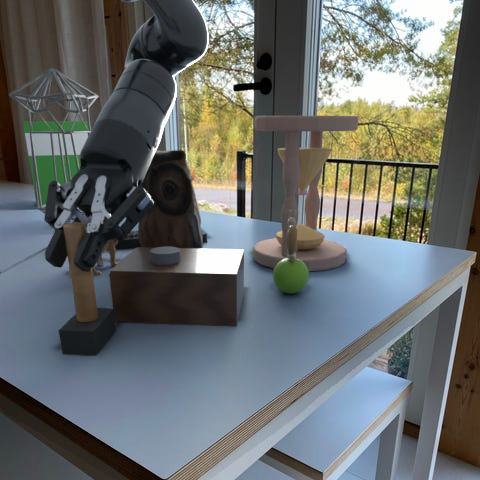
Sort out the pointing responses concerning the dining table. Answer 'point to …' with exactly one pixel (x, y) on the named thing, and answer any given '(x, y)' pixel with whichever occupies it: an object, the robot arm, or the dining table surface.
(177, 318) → the brown wooden block
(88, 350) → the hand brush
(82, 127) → the hardback book
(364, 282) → the dining table surface
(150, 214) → the owl
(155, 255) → the grey short cylinder
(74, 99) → the geometric lantern
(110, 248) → the lion figurine
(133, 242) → the keyboard
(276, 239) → the hourglass
